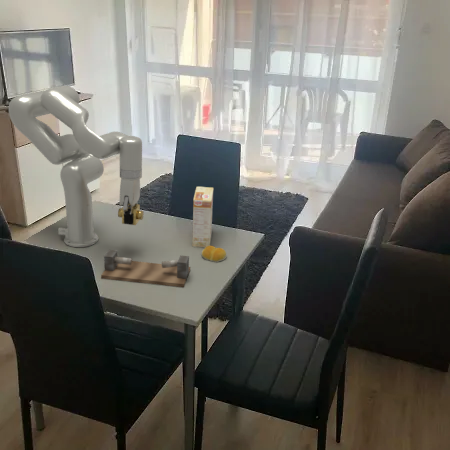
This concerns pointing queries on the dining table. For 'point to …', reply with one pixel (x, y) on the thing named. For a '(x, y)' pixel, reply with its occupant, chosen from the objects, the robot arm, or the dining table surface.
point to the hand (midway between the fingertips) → (130, 220)
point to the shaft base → (146, 270)
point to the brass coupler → (135, 211)
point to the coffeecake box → (202, 216)
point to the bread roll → (213, 254)
